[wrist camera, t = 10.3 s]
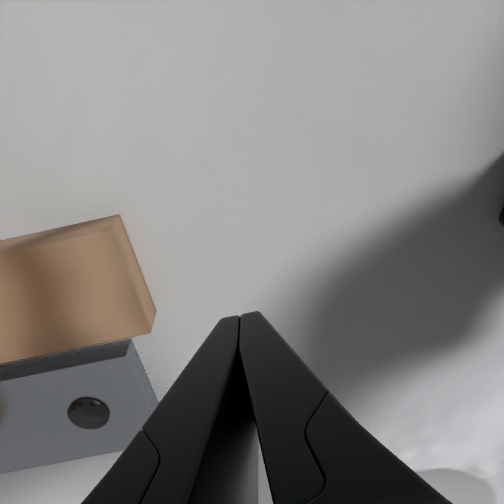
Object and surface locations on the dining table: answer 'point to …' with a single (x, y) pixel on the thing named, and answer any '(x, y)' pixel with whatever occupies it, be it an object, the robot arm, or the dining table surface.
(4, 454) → the bolt hole plate
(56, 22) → the dining table surface
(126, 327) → the rail
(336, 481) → the robot arm
